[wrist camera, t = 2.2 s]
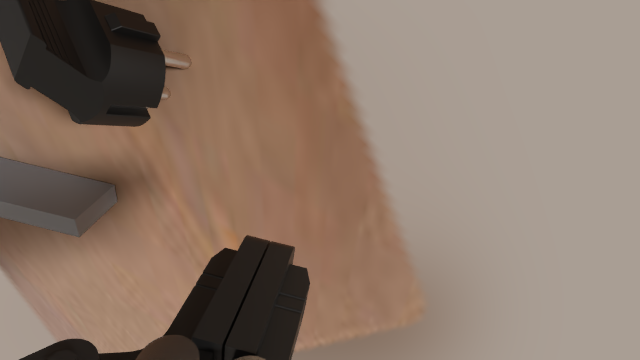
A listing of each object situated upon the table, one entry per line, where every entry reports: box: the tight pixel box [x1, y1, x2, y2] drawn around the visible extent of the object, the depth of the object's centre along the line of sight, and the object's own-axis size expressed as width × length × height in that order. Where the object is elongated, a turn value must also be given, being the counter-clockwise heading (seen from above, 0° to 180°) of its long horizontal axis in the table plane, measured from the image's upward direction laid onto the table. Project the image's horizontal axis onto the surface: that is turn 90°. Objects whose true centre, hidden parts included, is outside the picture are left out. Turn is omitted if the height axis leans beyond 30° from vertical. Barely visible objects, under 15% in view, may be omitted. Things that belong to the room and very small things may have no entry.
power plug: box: [0, 0, 192, 127], centre depth 20 cm, size 6×8×12 cm
